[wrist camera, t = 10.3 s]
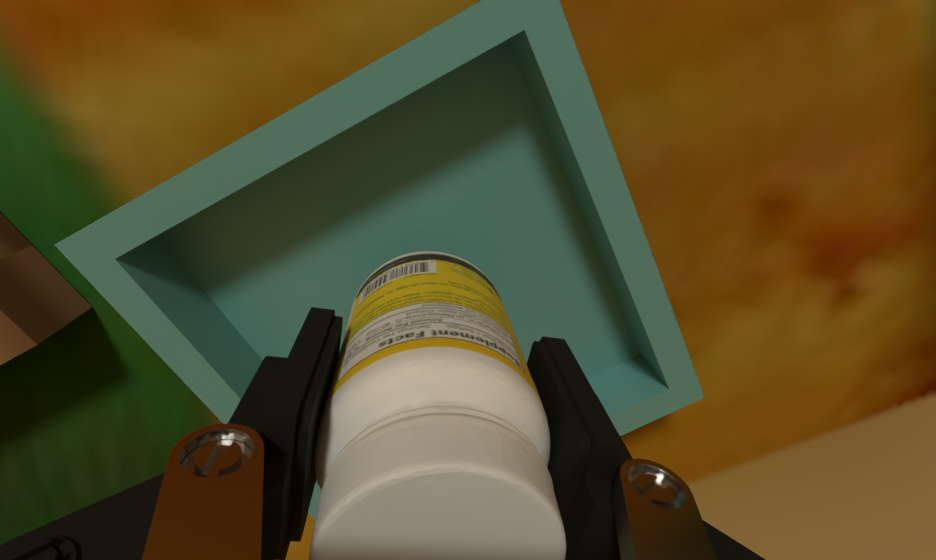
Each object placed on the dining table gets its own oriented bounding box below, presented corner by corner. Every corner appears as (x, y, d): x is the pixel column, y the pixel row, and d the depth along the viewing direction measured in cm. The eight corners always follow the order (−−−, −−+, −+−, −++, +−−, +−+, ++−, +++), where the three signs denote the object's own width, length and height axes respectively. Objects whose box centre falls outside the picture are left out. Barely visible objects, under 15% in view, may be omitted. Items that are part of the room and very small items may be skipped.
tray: (519, -13, 14) (545, -37, 11) (663, 351, 19) (704, 397, 16) (121, 214, 15) (54, 244, 12) (361, 494, 20) (352, 559, 18)
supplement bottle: (463, 399, 16) (503, 686, 9) (330, 354, 15) (237, 640, 7) (528, 280, 15) (649, 498, 7) (386, 221, 14) (344, 404, 6)
